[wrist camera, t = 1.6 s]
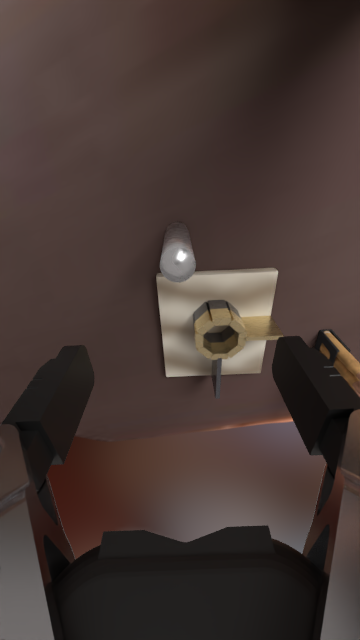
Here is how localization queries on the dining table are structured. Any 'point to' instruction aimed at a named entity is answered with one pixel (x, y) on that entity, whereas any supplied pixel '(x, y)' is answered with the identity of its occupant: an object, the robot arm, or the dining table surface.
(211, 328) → the base plate with nut
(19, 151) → the dining table surface
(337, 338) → the ammunition clip
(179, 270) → the hinge pin
